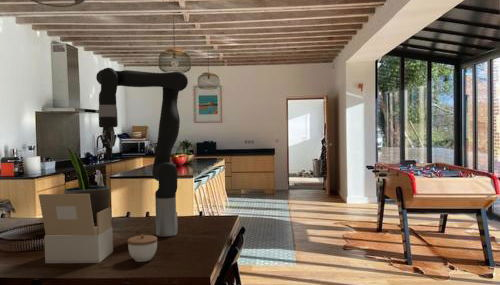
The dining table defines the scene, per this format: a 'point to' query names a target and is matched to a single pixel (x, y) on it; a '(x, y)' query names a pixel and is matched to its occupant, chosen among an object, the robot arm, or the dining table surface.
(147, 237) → the lidded jar
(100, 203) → the potted plant
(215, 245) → the dining table surface
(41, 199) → the flap
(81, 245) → the carton
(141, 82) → the robot arm
